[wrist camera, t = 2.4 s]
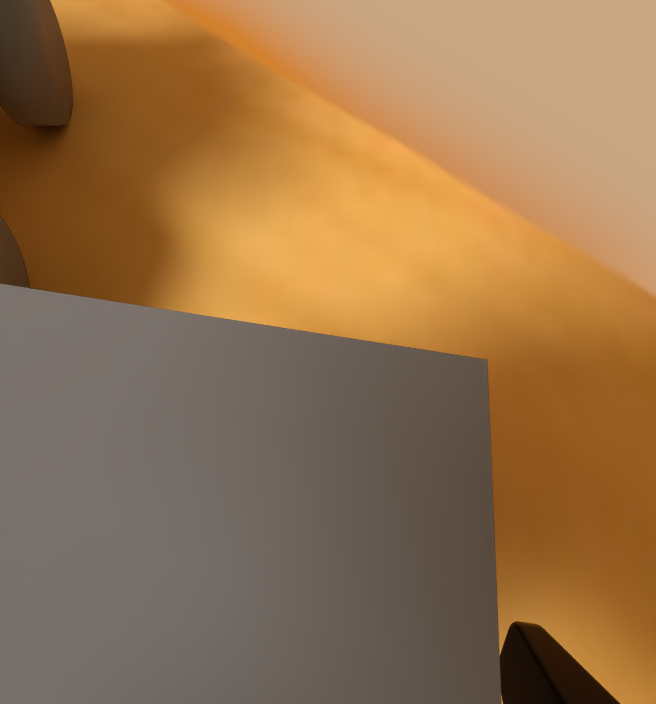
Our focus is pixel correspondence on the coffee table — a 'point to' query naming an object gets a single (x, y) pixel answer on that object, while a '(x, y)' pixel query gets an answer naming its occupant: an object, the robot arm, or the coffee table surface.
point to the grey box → (238, 513)
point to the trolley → (30, 91)
